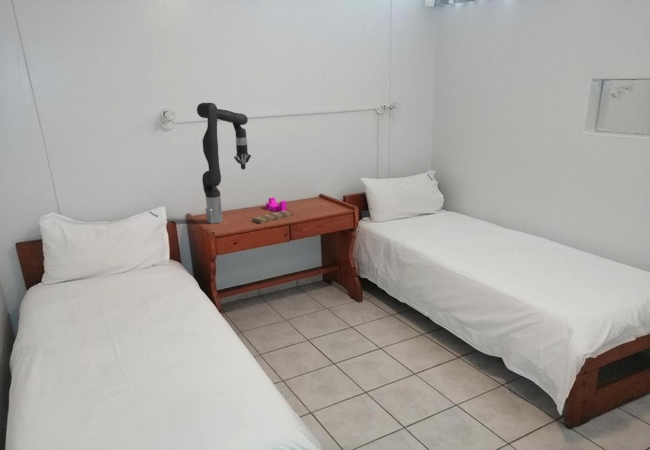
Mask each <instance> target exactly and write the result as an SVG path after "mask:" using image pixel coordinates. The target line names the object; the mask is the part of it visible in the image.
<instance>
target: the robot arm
mask: <svg viewBox="0 0 650 450" xmlns="http://www.w3.org/2000/svg"><path fill="white" fill-rule="evenodd" d="M196 113H197V115H198V116H199V117H200V118H203V119H207V127H206V131H205V132H204V134H203V137H202V151H203V155H204V157H205V159H206V162H207V165H208V170H206V171H204V173H203V174H202V178H201V179H202V187H203V192H204V194H205V202H206V207H205V216H206V217H205V218H206V223H209V224H211V225H212V224H213V225H214V224H219V223H222V222H224V221H223V210H222V199H221V192H220V190H219V188H218V186H219V185H220V184H221V181H222V176H221V175H222V174H221V167H220V160H219V159H220V157H219V142H218V141H219V140H218V120H220V121H224V122H227V123H232V125H233V129H234V131H235V149H236V153H235V154H236V155H235V156H233V159H234V160H235V161H236V162H237V164H240V169H241V170H242V171H243V170H246V163H247V164H248V162H249V161H250V159H251V157H252V155H251V154H249V153H248V152H249V151H248V140H247V131H246V129H245V128H243V127H242V126H245V125H246V124H247V123H248V120H249V118H248V116H247V115H246V114H244V113H239V112H234V111H231V110H227V109H221V108H217V105H216V104H215V103H214V102H201V103H199V104H198V105H197V107H196Z"/></svg>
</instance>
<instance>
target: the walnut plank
mask: <svg viewBox="0 0 650 450" xmlns="http://www.w3.org/2000/svg"><path fill="white" fill-rule="evenodd" d="M289 217H293V212H291V211H288V210H287V211H285V210H284V211H276V212H275V211H274V212H272V213H268V214H264V215H260V216H256V217H252V222H253V223H256V224H259V225H262V224H265V223H266V224H267V223H270V222H274V221H277V220H282V219H285V218H289Z"/></svg>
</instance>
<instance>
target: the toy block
mask: <svg viewBox="0 0 650 450" xmlns="http://www.w3.org/2000/svg"><path fill="white" fill-rule="evenodd" d="M265 209H266V210H268V211H272V212H274V213H275V212H280V211H284V210H285V211H288V210H287V201H286V200H281V201H279V204H278V203H277V200H276V198H275V197H269V198H268V202H265Z"/></svg>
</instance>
